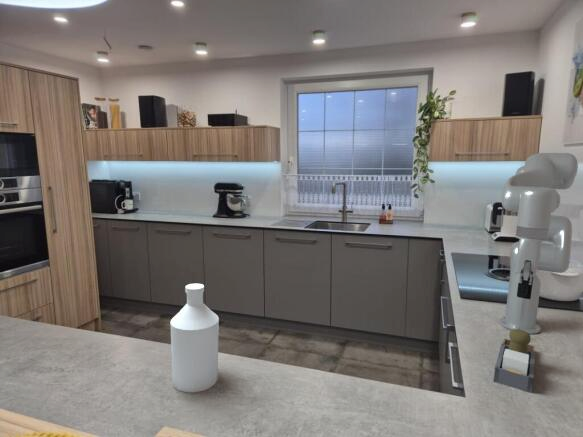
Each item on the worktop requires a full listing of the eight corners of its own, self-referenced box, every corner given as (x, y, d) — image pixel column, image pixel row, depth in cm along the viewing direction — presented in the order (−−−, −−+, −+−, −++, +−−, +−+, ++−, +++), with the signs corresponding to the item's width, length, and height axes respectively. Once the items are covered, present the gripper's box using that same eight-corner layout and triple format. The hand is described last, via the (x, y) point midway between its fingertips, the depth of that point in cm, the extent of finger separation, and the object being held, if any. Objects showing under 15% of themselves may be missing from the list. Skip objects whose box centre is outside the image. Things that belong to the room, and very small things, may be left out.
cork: (532, 373, 103) (537, 336, 101) (510, 371, 104) (514, 335, 102) (521, 362, 109) (526, 327, 107) (500, 360, 110) (504, 325, 108)
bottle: (193, 399, 87) (193, 298, 84) (161, 382, 94) (159, 287, 90) (228, 376, 97) (228, 285, 94) (196, 362, 103) (196, 276, 100)
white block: (502, 371, 104) (505, 348, 103) (525, 378, 101) (529, 354, 100) (500, 380, 99) (503, 356, 98) (524, 388, 96) (528, 363, 95)
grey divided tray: (500, 355, 113) (501, 342, 112) (533, 364, 108) (535, 351, 107) (493, 381, 99) (495, 366, 98) (531, 392, 94) (533, 377, 93)
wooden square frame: (503, 344, 120) (504, 338, 120) (534, 352, 116) (534, 346, 115) (500, 354, 113) (501, 348, 113) (533, 363, 109) (534, 357, 108)
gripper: (517, 228, 110) (511, 283, 113) (513, 236, 96) (506, 298, 99) (548, 231, 106) (540, 288, 109) (548, 240, 92) (539, 305, 95)
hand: (524, 293), depth 104 cm, fingers open, 9 cm apart
